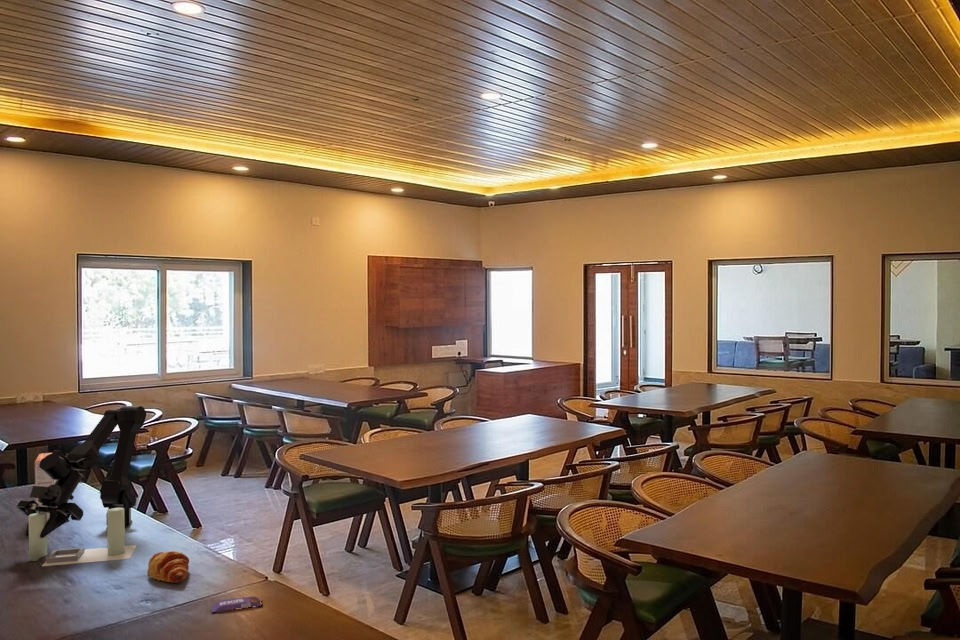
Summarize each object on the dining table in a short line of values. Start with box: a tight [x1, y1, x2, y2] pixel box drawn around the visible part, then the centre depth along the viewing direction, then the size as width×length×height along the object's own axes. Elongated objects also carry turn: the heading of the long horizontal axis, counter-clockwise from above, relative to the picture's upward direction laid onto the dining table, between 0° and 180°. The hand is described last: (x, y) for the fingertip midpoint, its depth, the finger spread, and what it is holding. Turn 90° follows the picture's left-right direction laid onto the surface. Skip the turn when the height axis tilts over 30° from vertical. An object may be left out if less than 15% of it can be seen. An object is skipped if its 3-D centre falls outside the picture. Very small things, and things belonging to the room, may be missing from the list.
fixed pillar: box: [106, 508, 126, 556], centre depth 211 cm, size 4×4×12 cm
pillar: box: [28, 513, 48, 562], centre depth 209 cm, size 4×4×12 cm
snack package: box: [211, 595, 263, 613], centre depth 176 cm, size 12×2×5 cm
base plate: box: [41, 544, 138, 567], centre depth 210 cm, size 22×12×2 cm, turn 106°
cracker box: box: [34, 452, 57, 521], centre depth 251 cm, size 14×6×21 cm, turn 25°
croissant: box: [146, 550, 190, 584], centre depth 197 cm, size 21×10×8 cm, turn 40°
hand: (33, 536), depth 208 cm, fingers closed on pillar, 4 cm apart
